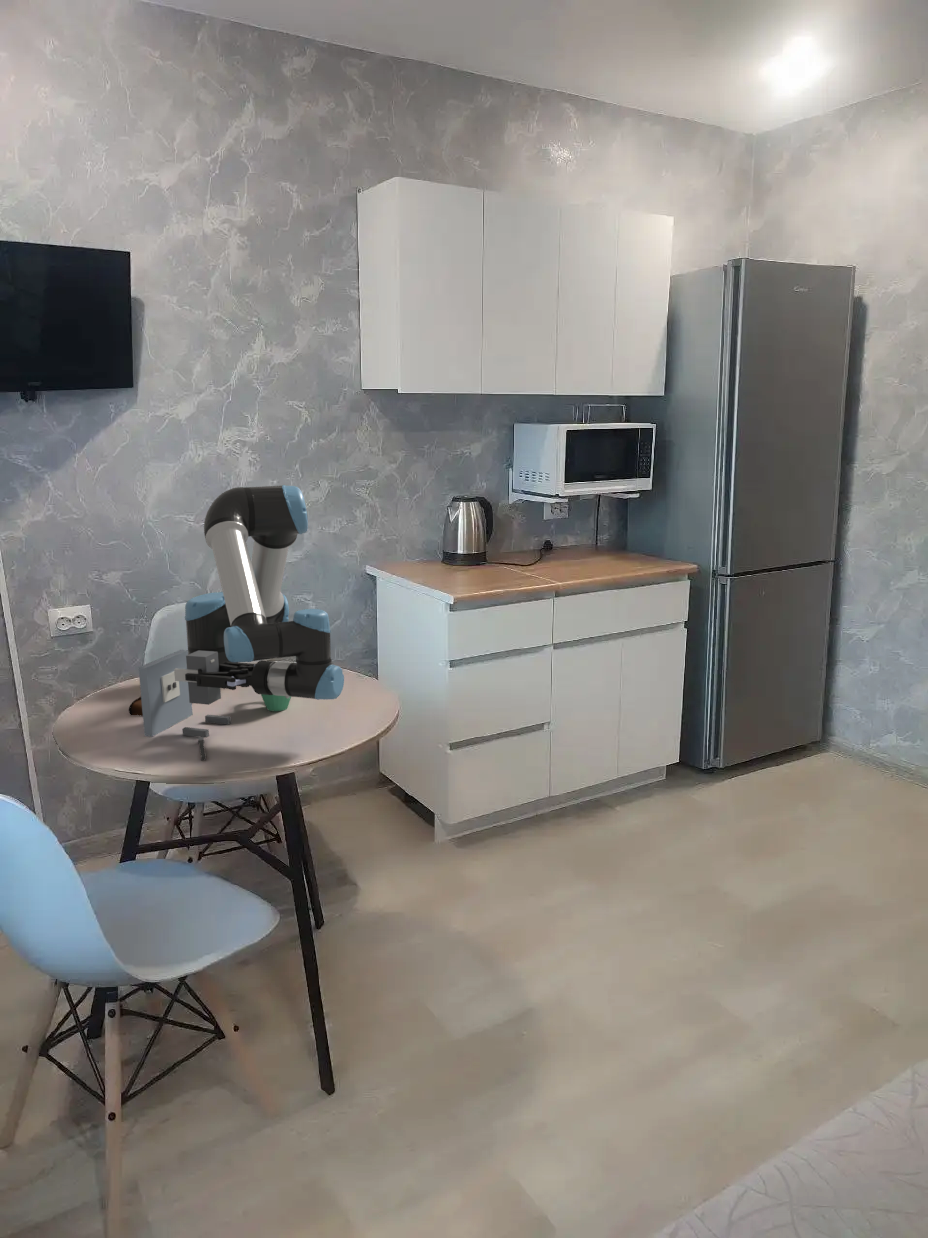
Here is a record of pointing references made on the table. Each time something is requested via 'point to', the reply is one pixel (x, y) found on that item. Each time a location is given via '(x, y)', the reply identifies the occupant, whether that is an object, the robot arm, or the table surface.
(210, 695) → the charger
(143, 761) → the table surface
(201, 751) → the grey long bar
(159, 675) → the outlet board
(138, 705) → the sunglasses case
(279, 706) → the mug
